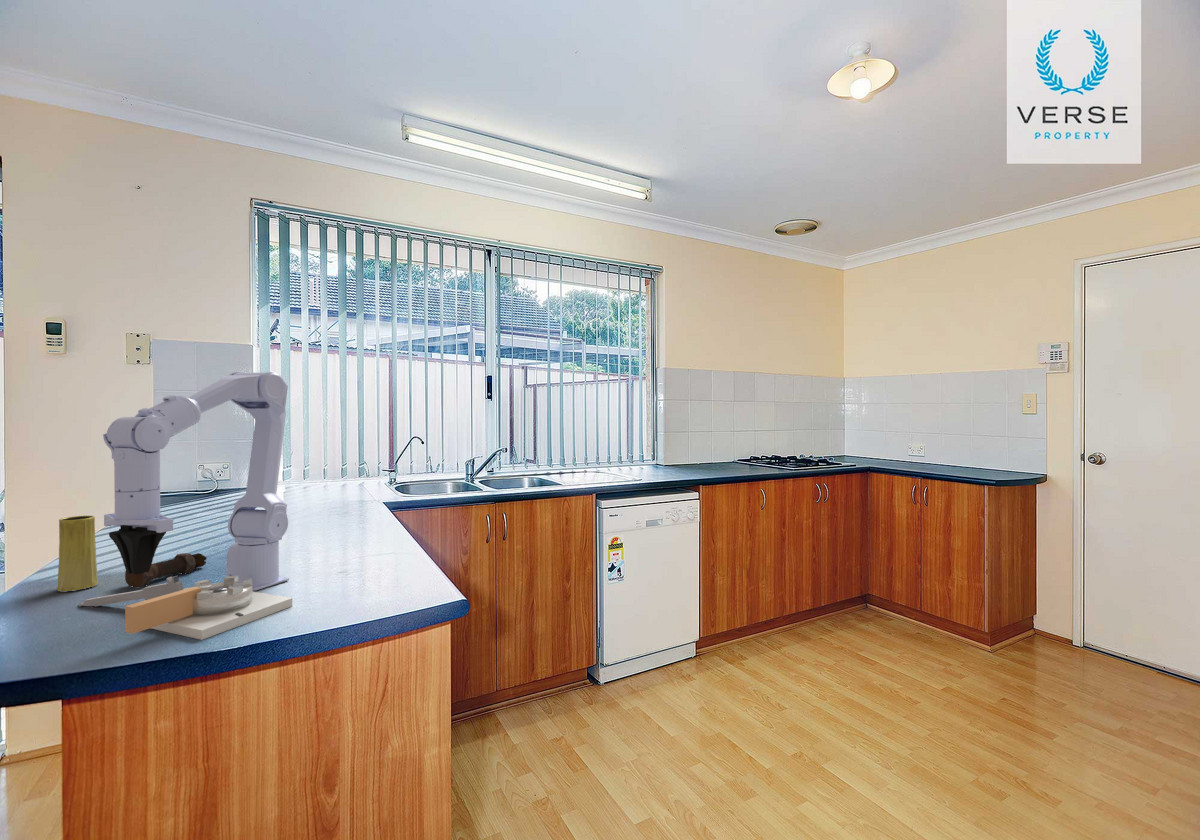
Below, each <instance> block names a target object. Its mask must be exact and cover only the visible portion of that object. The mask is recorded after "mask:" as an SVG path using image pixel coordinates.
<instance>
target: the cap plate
mask: <svg viewBox="0 0 1200 840" xmlns="http://www.w3.org/2000/svg"><path fill="white" fill-rule="evenodd" d="M252 597H253V599H252V601H251V602H250V603H248V604H246V605H244V606H242V607H239V608H236V609H233V610H229V611H224V612H219V613H213V614H200V615H196V614H192V615H189V616H186V617H183V618H180V619H177V620H174V621H171V622H167V623H164V624H161V625H158V626H155V627H152V628H150V630H151V629H152V630H157V631H161V632H166V633H170V634H175V635H178V636H184V637H187V638H192V639H197V640H201V641H203V640H206V639H208V638H210V637H213V636H216V635H219V634H221V633H224V632H228V631H229V630H232V629H235V628H237V627H241V626H243V625H247V624H248V623H250V622H254V621H257V620H258V619H259V620H260V619H262V618H265V617H267V616H270V615H272V614H275V613H277V612H281V611H283V610H286V609H288V608H291V607H293V597H288V596H284V595H283V596H282V595H277V594H270V593H263V592H258V591H252Z"/></svg>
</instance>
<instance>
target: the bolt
mask: <svg viewBox="0 0 1200 840" xmlns="http://www.w3.org/2000/svg"><path fill="white" fill-rule="evenodd" d="M207 559H208V557H207V556H205V555H203V554H202V553H199V552H198V553H177V554H175V556H174V557H173V558H171V559H168V560H163V561H159V562H155V563H152V564H151V568H150V570H149V572H145V573H141V574H137V575H134V574H133V573H131V574H128V573H127V571H126V570H124V572H125V573H124V581H125V583H126V584H127V586H128V587H130V586H133V587H143V586H146V585H148V586H150V583H151V581H153V580H156V579H160V578H163V577H167V576H170V575H174V574H176V573H182V574H181V575H186V574H185V573H188V574H190V573H189V572H191V573H192V572H193V570H194V569H198V568H201V567H204V566H205V565H206V564H207ZM133 587H132V588H133ZM146 587H147V586H146ZM143 588H144V587H143Z"/></svg>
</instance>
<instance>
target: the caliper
mask: <svg viewBox="0 0 1200 840" xmlns="http://www.w3.org/2000/svg"><path fill="white" fill-rule="evenodd" d="M178 575H179V574H176V575H175V576H168V577H167V578H166V579H165V580H166V582H165V583H161V584H155V585H148V586H146V587H143V588H142V589H139V590H134V591H133V590H132V591H127V592H122V593H115V594H109V595H102V596H98V597H92V598H87V599H85V600H83V601H82V603H78V605H79V606H78V607H82V606H83V607H84V606H95V607H101V606H106V605H110V604H111V605H113V604H119V603H123V602H129V601H135V600H141V599H142V600H143V599H144V601H145V600H149V599H152V598H156V597H159V596H163V595H166V594H170V593H174V592H177V591H181V590H183V589H184V588H185V587H184V584H183V581H180V580H179V576H178Z"/></svg>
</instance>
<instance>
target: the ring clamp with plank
mask: <svg viewBox="0 0 1200 840" xmlns="http://www.w3.org/2000/svg"><path fill="white" fill-rule="evenodd" d="M252 599H253V597H252V579H251V578H246V579H242V581H238V576H227V575H226V577H223V581H221V582H215V583H211V580H210V579H209V580H208V579H203V580H199V581H195V582H194V586H191V587H186V588H185V587H184V589H183V590H181V591H177V592H174V593H170V594H166V595H163V596H159V597H156V598H152V599H149V600H145V599H144V600H141V601H138V602H135V603H132V604H128V605H125V606H124V608H125V609H124V610H125V611H124V612H125V613H124V614H125V616H124V618H125V619H124V620H125V622H124V626H125V629H124V631H125V633H127V634H136V633H140V632H143V631H146V630H148V629H151V628H152V627H155V626H158V625H161V624H164V623H167V622H171V621H174V620H177V619H180V618H183V617H186V616H189V615H192V614H196V615H200V614H213V613H219V612H224V611H229V610H233V609H236V608H239V607H242V606H244V605H246V604H248V603H250V602H251V601H252Z"/></svg>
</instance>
